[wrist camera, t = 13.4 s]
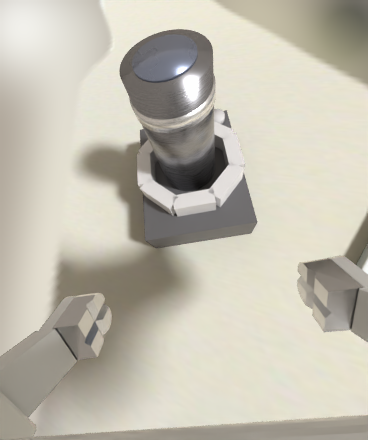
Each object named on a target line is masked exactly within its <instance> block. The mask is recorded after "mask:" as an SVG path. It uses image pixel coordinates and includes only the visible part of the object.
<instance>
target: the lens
mask: <svg viewBox="0 0 368 440" xmlns="http://www.w3.org/2000/svg"><path fill="white" fill-rule="evenodd" d="M120 77H121V80H122V82H123V84H124V86H125V88H126V91H127V93H128V95H129V97H130V103H131V106H132V108H133V110H134V113H135V115H136V117H137V119H138V121H139V122H140V123H141V124H142V126H143V128H144V131H145V133H146V135H147V137H148V139H149V142H150V144H151V146H152V148H153V151H154V153H155V155H156V157H157V159H158V162H159V164H160V166H161V168H162V171H163V173H164V175H165V177H166V179H167V181H168V183H169V184H170V185H171V186H172V187H174V188H175V189H178V190H181V191H195V190H198V189H200V188H202V187H204V186H205V185H207V184H208V183H209V182H210V180H211V179H212V177H213V175H214V173H215V134H214V103H215V76H214V74H213V49H212V45H211V43H210V42H209V40H208V39H207V38H206V37H205V36H203V35H202V34H200V33H198V32H195V31H191V30H183V29H177V30H168V31H163V32H160V33H157V34H154V35H151V36H149V37H147V38H145V39H143V40H142V41H140V42H139V43H137V44H136V45H135V46H134V47H132V48H131V49H130V50H129V51H128V53H127V54H126V55H125V57H124V58H123V60H122V62H121V65H120Z"/></svg>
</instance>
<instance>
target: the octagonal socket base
mask: <svg viewBox="0 0 368 440" xmlns="http://www.w3.org/2000/svg"><path fill="white" fill-rule="evenodd" d="M214 134H215V173H214V175H213V177H212V179H211V180H210V182H209V183H208V184H207V185H205V186H204V187H202V188H200V189H198V190H195V191H181V190H178V189H175V188H174V187H172V186H171V185H170V184H169V183H168V181H167V179H166V177H165V175H164V173H163V171H162V168H161V166H160V164H159V162H158V159H157V157H156V155H155V153H154V151H153V148H152V146H151V144H150V142H149V139H148V137H147V135H146V133H145V131H144V129H142V130H140V141H141V148H140V149H139V150H138V151H139V154H137V177H138V186H139V187H140V190H141V191H142V192H143V204H144V225H145V241H147V242H148V243H149V244H151V245H152V246H153V247H155V248H161V247H168V246H174V245H180V244H187V243H193V242H199V241H206V240H212V239H218V238H224V237H231V236H237V235H243V234H250V233H252V231H253V229H254V227H255V226H256V224H257V219H256V216H255V212H254V208H253V205H252V201H251V197H250V194H249V190H248V187H247V183H246V179H245V176H244V167H245V161H244V158H243V154H242V151H241V147H240V144H239V140H238V137H237V133H233V129H231V125H230V121H229V118H228V114H227V110H226V111H222V110H220V109H214Z"/></svg>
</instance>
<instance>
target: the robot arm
mask: <svg viewBox="0 0 368 440" xmlns="http://www.w3.org/2000/svg"><path fill="white" fill-rule="evenodd" d="M298 272H299V274H300V275H301V276H300V278H299V279H298V280H297V287H298V291H299V294H300V297H301V299H302V300H303V302H304V303H305V305H306V306H308V307H310V308H311V309H313V317H314V318H315V320H316V321H317V323H318V324H319V326H320V327H321V329H322V330H323V331H324V332H331V331H343V330H351V331H352V332H353V333H355V334H356V335H358V336H359V337H361V338H362V339H364V340H365V341H367V342H368V274H367V273H366V272H364V271H363V270H362V269H360V268H359V267H358V266H357V265H355V264H354V263H353V262H351V261H350V260H349V259H348V258H346V257H344V256H336V257H330V258H327V259H320V260H313V261H307V262H300V263H299V264H298ZM104 301H105V298H104V296H103V294H102V293H91V294H83V295H77V296H69V297H66V298H64V299H63V300H62V301H61V303H60V304H59V305H58V307H57V308H56V309H55V310H54V312H53V313H52V314H51V316H50V317H49V318H48V319H47V321H46V322H45V323H44V325H43V326H42V327H41V329H40V330H39V331H35V332H34V333H32V334H31V335H29V336H28V337H27V338H25V339H24V340H23V341H21V342H20V343H18V344H17V345H16V346H14V347H13V348H12V349H10V350H9V351H7V352H6V353H5V354H3V355H2V356H1V357H0V440H368V415H358V416H343V417H328V418H312V419H297V420H282V421H267V422H252V423H236V424H221V425H206V426H191V427H176V428H161V429H145V430H130V431H115V432H100V433H85V434H70V435H55V436H40V437H33V436H34V434H35V432H36V425H35V424H34V423H33V422H32V421H31V420H30V419H29V418H28V417H29V416H30V415H31V414H32V413H33V412H34V410H35V409H36V408H37V407H38V406H39V405H40V404H41V402H42V401H43V400H44V399H45V398H46V397H47V396H48V394H49V393H50V392H51V391H52V390H53V389H54V388H55V386H56V385H57V384H58V383H59V382H60V381H61V379H62V378H63V377H64V376H65V375H66V374H67V373H68V371H69V370H70V369H71V368H72V367H73V366H74V365H75V363H76V362H77V360H82V359H89V358H96V357H98V355H99V352H100V350H101V348H102V345H103V343H104V337H103V335H104V334H105V333H106V332H107V331H108V330H109V328H110V326H111V321H112V313H111V310H110V308H109V306H107V305H106V304H104Z"/></svg>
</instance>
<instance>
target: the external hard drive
mask: <svg viewBox="0 0 368 440" xmlns="http://www.w3.org/2000/svg"><path fill="white" fill-rule="evenodd" d="M356 265H357V266H358V267H359V268H360V269H362V270H363V271H364V272H366V273H367V274H368V243H367V245H366V247H365V249H364V251H363V253H362V255H361V256H360V258H359V260H358V262H357V264H356Z"/></svg>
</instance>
